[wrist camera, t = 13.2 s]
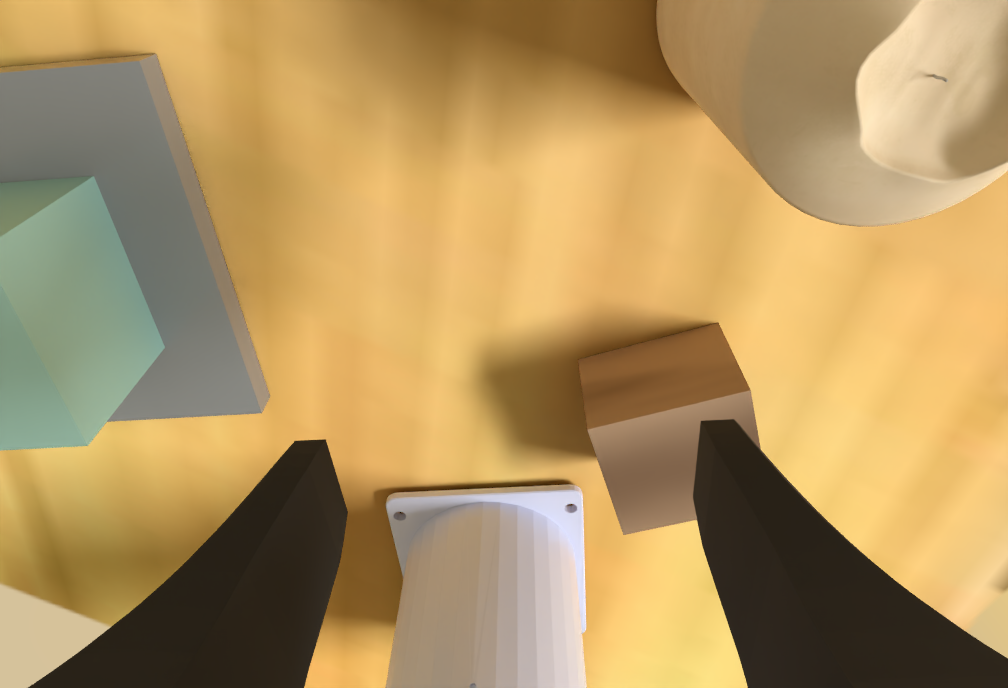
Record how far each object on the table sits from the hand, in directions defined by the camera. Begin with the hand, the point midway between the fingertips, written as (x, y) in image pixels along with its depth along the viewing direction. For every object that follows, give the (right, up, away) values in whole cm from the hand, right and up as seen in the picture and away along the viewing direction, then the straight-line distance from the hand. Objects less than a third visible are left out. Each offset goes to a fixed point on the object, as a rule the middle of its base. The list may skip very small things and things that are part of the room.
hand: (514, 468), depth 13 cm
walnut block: (+6, +1, +12) cm, 13 cm away
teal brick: (-14, +5, +8) cm, 17 cm away
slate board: (-14, +5, +9) cm, 18 cm away
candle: (+7, +12, +5) cm, 14 cm away
